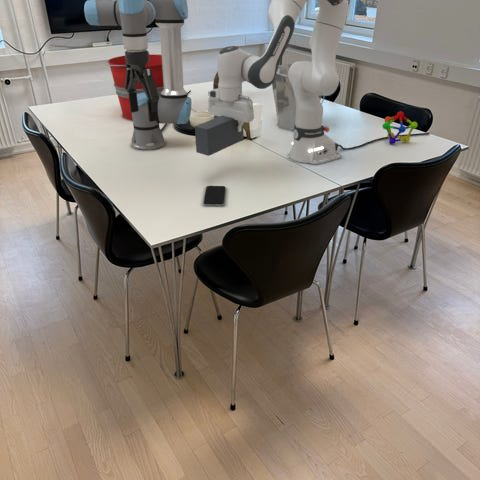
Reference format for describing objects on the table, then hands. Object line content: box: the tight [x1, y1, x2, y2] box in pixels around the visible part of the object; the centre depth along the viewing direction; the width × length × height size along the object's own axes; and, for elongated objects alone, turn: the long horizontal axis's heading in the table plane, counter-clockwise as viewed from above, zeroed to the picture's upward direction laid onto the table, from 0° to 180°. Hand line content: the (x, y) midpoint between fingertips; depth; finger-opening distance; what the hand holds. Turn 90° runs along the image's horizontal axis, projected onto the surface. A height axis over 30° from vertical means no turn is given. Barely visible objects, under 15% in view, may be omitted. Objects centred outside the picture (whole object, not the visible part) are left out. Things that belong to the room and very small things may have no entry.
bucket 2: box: [271, 63, 325, 131], centre depth 226 cm, size 30×30×28 cm
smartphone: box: [203, 185, 226, 207], centre depth 161 cm, size 7×1×15 cm
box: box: [194, 116, 244, 157], centre depth 169 cm, size 21×6×10 cm, turn 142°
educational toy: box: [382, 110, 418, 145], centre depth 207 cm, size 16×13×15 cm
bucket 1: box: [104, 53, 164, 121], centre depth 240 cm, size 35×35×30 cm
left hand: (143, 116), depth 153 cm, fingers open, 13 cm apart
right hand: (231, 129), depth 174 cm, fingers closed on box, 6 cm apart
